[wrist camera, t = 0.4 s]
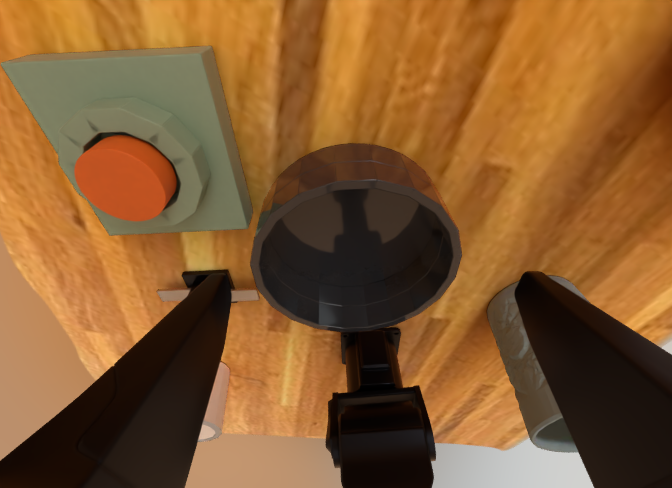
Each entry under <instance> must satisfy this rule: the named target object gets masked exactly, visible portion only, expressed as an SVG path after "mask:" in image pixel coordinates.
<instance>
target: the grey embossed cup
mask: <svg viewBox="0 0 672 488" xmlns="http://www.w3.org/2000/svg"><path fill="white" fill-rule="evenodd" d="M547 276H548V277H550V278H551V279H553V280H555V281H556V282H558V283H559V284H561V285H563V286H564V287H566V288H567V289H569V290H570V291H572V292H574V293H575V294H577V295H578V296H580V297H581V298H583V299H585V300H586V301H588V300H587V299H586V298H585V297H584V296H583V295H582V293H581V292H580V291H579V290H578V289H577V288H576V287H575V286H574V285H573V284H572V283H571V282H569V281H568V280H566V279H564V278H562V277H558V276H550V275H547ZM518 283H519V282H516V283H514V284H512V285H510V286H508V287H507V288H505V289H503V290H502V291H501V292H499V293H498V294H497V295H496V296H495V297H494V298H493V299H492V301H491V302H490V304H489V306H488V309H487V316H488V320H489V323H490V326H491V329H492V332H493V334H494V337H495V339H496V343H497V346H498V348H499V350H500V355H501V357H502V360H503V363H504V365H505V369H506V372H507V374H508V376H509V380H510V382H511V384H512V385H513V386H514V388H515V396H516V398H517V400H518V402H519V408H520V411H521V414H522V416H523V419H524V422H525V425H526V428H527V431H528V434H529V437H530V440H531V441H532V443H533V444H534V445H535V446H537V447H538V448H541V449H545V450H549V451H555V452H578V450H577V448H576V446H575V443H574V441H573V439H572V437H571V434H570V432H569V430H568V428H567V425H566V423H565V421H564V419H563V416H562V414H561V412H560V410H559V408H558V405H557V403H556V401H555V399H554V396H553V394H552V392H551V390H550V387H549V385H548V383H547V381H546V378H545V376H544V374H543V372H542V370H541V367H540V365H539V363H538V361H537V358H536V356H535V354H534V352H533V349H532V347H531V345H530V342H529V339H528V337H527V334H526V331H525V328H524V325H523V322H522V318H521V315H520V312H519V309H518V306H517V303H516V300H515V296H514V291H515V288H516V286H517V285H518ZM588 302H589V301H588ZM589 303H590V302H589Z"/></svg>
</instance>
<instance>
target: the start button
mask: <svg viewBox="0 0 672 488" xmlns="http://www.w3.org/2000/svg"><path fill="white" fill-rule="evenodd" d="M74 174H75V179H76V182H77V185H78V187H79V188H80V190H81V192H82V193H83V194H84V196H85V197H86V198H87V199H88V200H89V201H90V202H91V203H92V204H94V205H95V206H96V207H97V208H99V209H100V210H102V211H104V212H105V213H107V214H109V215H111V216H114V217H117V218H120V219H123V220H128V221H146V220H150V219H152V218H154V217H156V216H158V215H159V214H160V213H161V212H162V211H163V209H164V208H165V206H166V205H167V203H168V202H169V200H170V199H171V197H172V196H173V194H174V192H175V190H176V185H177V180H176V175H175V172H174V169H173V167H172V165H171V164H170V162H169V161H168V159H167V158H166V157H165V156H164V155H163V154H162V153H161V152H160V151H159V150H158V149H156V148H155V147H154V146H152V145H151V144H149V143H147V142H145V141H143V140H141V139H138V138H135V137H131V136H126V135H114V136H109V137H106V138H104V139H102V140H101V141H99V142H98V143H97V144H95V145H94V146H93V147H91V148H90V149H89V150H87V151H86V152H85V153H83V154H82V155H81V156H80V157H79V158H78V160H77V161H76V164H75V169H74Z"/></svg>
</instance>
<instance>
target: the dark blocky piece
mask: <svg viewBox="0 0 672 488" xmlns="http://www.w3.org/2000/svg"><path fill="white" fill-rule="evenodd" d="M219 273H223V274H226V276H227V278H228V282H229V285H230V289H231V293H232V301H231V303H237V302H238V301H255V300H260V297H259V293H258V290H257V288H243V289H235V288H234V285H233V282H232V280H231V277H230V274H229V271H228V270H212V271H191V272H183V274H182V277H183V279H184V281H185V283H186V285H187V287H188V288H173V289H158V290H157V293H158V295H159V296H160V298H161V300H162V301H163V302H164V301H182V300H183V299H185V298H186V297H187V296H188V295H189V294H190V293H191V292H192V291H193V290H194V289H195V288H196V287H197V286H198V285H200V284H201V283H202V282H203V281H204V280H205V279H206V278H207V277H208V276H209V275H211V274H219Z"/></svg>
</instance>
